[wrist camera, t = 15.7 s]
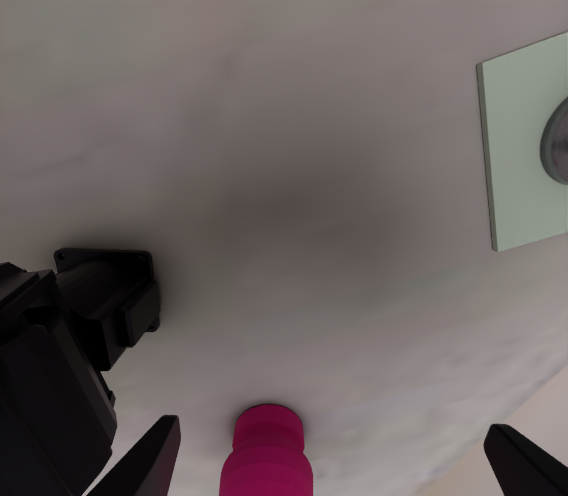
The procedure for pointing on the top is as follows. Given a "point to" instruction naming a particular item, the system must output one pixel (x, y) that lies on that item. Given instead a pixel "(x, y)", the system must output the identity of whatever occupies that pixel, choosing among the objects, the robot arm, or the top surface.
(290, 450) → the pepper mill
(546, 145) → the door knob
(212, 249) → the top surface
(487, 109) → the rubber mat
